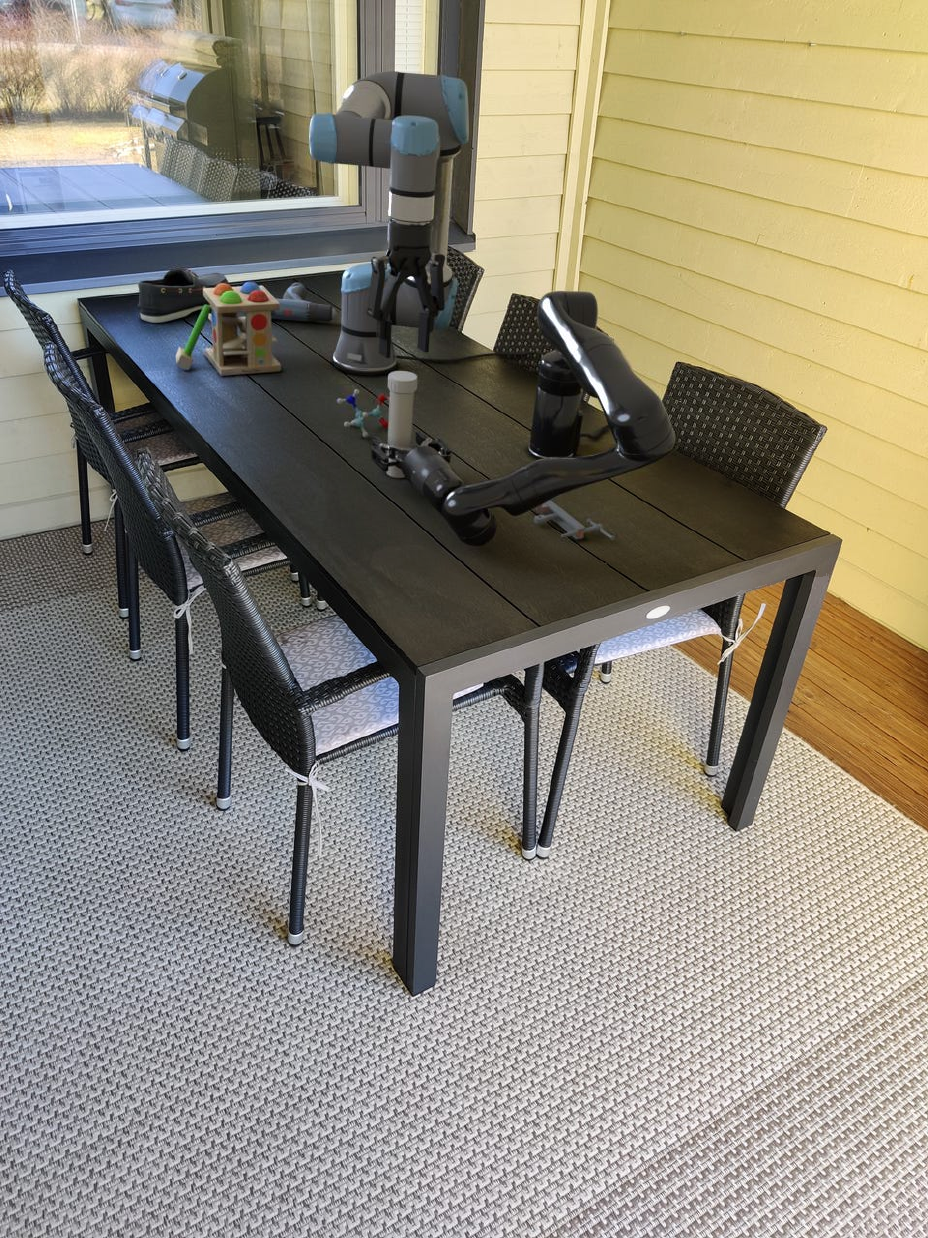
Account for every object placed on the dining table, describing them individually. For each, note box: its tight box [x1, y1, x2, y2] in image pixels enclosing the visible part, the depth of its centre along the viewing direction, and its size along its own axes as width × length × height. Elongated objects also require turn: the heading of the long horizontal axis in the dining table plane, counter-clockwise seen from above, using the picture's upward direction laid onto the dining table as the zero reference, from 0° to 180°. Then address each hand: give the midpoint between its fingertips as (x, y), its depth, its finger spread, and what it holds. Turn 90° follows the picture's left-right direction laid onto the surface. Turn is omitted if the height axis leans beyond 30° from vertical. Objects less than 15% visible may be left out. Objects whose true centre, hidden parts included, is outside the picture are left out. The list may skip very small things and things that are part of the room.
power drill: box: [271, 282, 338, 322], centre depth 265 cm, size 5×19×20 cm
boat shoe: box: [137, 266, 230, 324], centre depth 260 cm, size 13×33×10 cm, turn 147°
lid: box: [387, 370, 418, 393], centre depth 181 cm, size 5×5×2 cm
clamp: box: [533, 500, 616, 542], centre depth 177 cm, size 15×2×10 cm
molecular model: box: [336, 388, 389, 438], centre depth 204 cm, size 12×10×10 cm
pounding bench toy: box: [174, 281, 282, 377], centre depth 225 cm, size 23×14×18 cm, turn 116°
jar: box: [385, 390, 415, 479], centre depth 186 cm, size 5×5×19 cm
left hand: (403, 352), depth 178 cm, fingers open, 7 cm apart
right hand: (396, 438), depth 188 cm, fingers open, 8 cm apart
